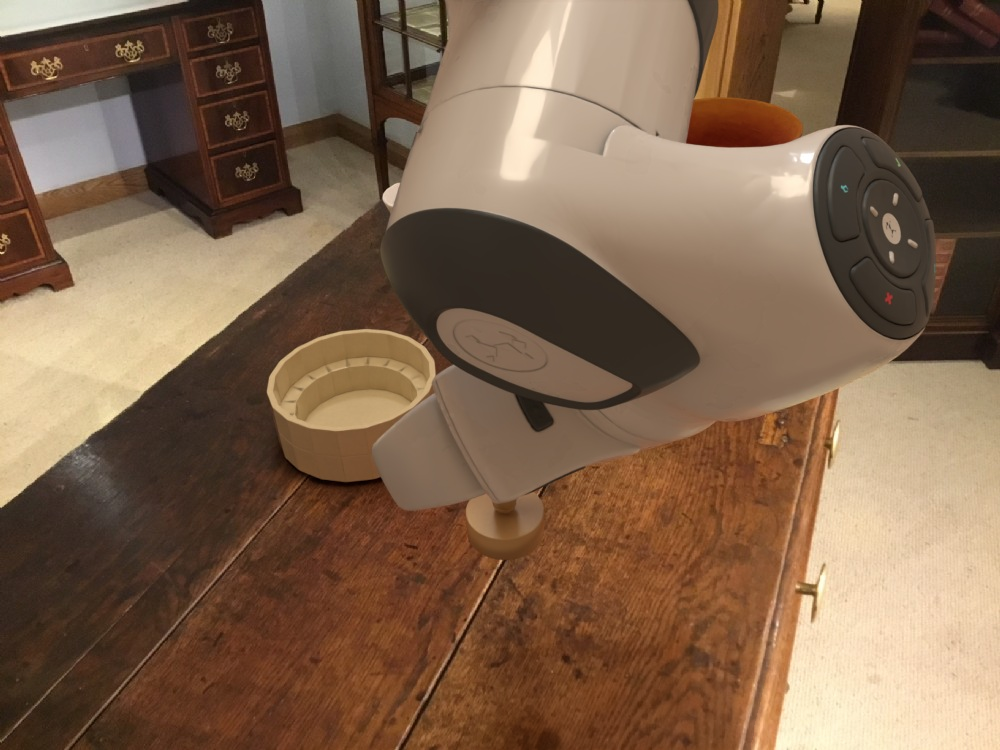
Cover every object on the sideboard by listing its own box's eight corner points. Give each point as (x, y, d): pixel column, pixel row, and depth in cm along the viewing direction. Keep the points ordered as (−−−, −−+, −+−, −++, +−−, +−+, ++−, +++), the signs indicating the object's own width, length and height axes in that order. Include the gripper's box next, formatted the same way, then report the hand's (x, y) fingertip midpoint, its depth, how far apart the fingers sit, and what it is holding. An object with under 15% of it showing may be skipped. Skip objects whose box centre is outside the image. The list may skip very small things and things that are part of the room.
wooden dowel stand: (537, 565, 55) (536, 356, 45) (459, 554, 56) (441, 347, 46) (549, 508, 59) (551, 304, 49) (476, 499, 60) (463, 297, 50)
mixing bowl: (416, 495, 79) (408, 438, 75) (254, 475, 82) (238, 420, 78) (457, 389, 92) (452, 336, 88) (315, 375, 95) (305, 323, 91)
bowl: (777, 225, 119) (790, 157, 113) (631, 202, 127) (636, 137, 121) (802, 168, 134) (814, 105, 128) (670, 150, 142) (676, 90, 136)
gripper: (728, 233, 45) (594, 313, 57) (408, 386, 35) (327, 444, 48) (784, 338, 45) (637, 396, 57) (478, 521, 35) (379, 545, 47)
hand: (494, 419), depth 52 cm, fingers closed on wooden dowel stand
